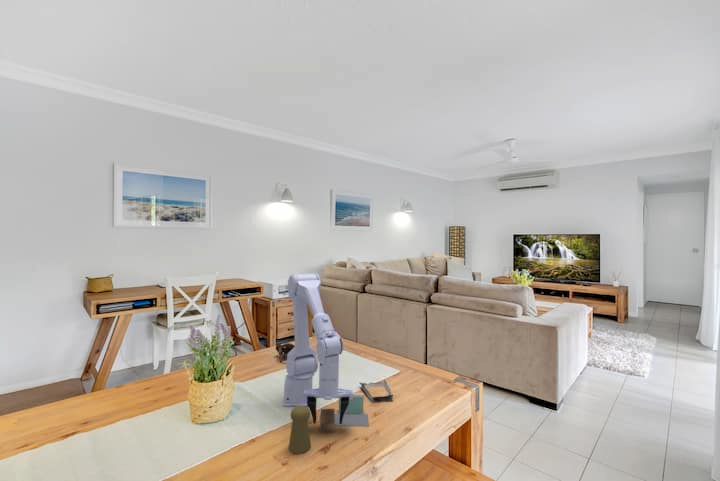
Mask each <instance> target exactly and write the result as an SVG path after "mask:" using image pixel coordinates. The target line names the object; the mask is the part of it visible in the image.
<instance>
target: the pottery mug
mask: <svg viewBox="0 0 720 481" xmlns="http://www.w3.org/2000/svg"><path fill="white" fill-rule="evenodd" d="M294 347H295V344H294V343H291V342H290V343H289V342H285V343H283V344H282V343H277V344H276V345H275V350H276V352H277V353H278V356H279V359H278V362H280V363H283V362H287V354H288V353H289V352H290V351H291V350H292V349H293V348H294Z"/></svg>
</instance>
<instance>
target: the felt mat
mask: <svg viewBox="0 0 720 481" xmlns="http://www.w3.org/2000/svg"><path fill="white" fill-rule="evenodd" d="M334 427H370V421H369V414H368V413H344V416H343V419H342V424H340V413H335V426H334Z"/></svg>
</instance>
